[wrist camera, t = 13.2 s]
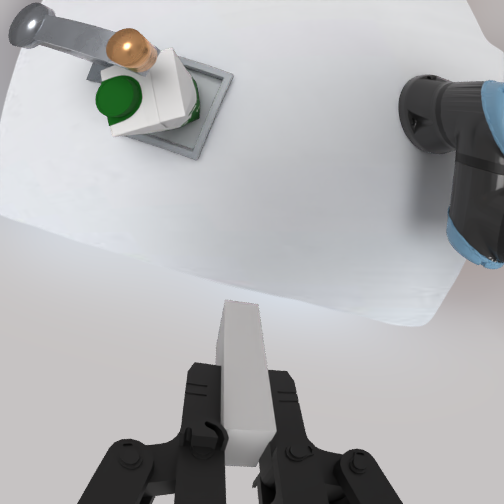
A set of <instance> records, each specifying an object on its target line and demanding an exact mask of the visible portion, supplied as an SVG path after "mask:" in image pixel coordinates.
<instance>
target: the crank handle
mask: <svg viewBox="0 0 504 504" xmlns="http://www.w3.org/2000/svg"><path fill="white" fill-rule="evenodd" d="M9 40H10V43H11V44H12V45H14V46H18V47H23V48H27V49H31V48H34V47H36V46H38V45H39V44H41V43H42V42H45V43H49V44H52V45H56V46H59V47H63V48H66V49H69V50H72V51H76V52H79V53H82V54H85V55H88V56H91V57H94V58H97V59H100V60H102V61H105V62H108V63H111V64H113V65H116V66H119V67H121V68H124V69H126V70H129V71H132V72H134V73H137V74H139V75H141V76H144V77H146V75H147V74H148V72H149V70H150V68H151V67H152V66H153V65H154V64H155V62H156V60H157V57H158V55H159V54H160V52H161V51H160V50H159V49H158V48H157V47H156V46H154V45H152V44H151V43H150V42H149V41H148V40H147V39H146V38H145V37H144V36H143V35H142V34H140V33H139V32H138V31H137V30H135V29H131V28H127V29H122V30H120V31H118V32H113V31H110V30H107V29H103V28H100V27H96V26H93V25H89V24H85V23H81V22H77V21H73V20H69V19H65V18H60V17H55V13H54V11H53V10H52V9H50V8H48V7H46V6H44V5H42V4H40V3H32V4H30V5H28V6H26V7H25V8H24V9H22V10H21V11H20V12H19V14H18V15H17V16H16V17H15V19H14V20H13V22H12V24H11V27H10V30H9Z"/></svg>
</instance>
